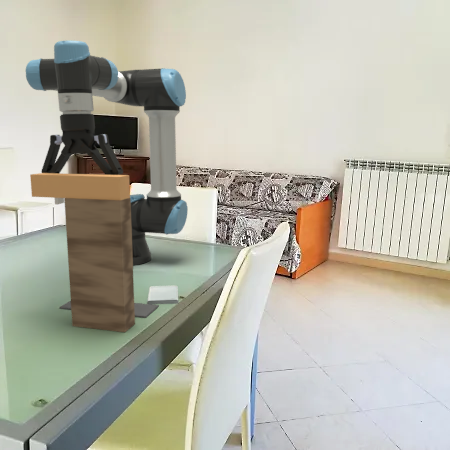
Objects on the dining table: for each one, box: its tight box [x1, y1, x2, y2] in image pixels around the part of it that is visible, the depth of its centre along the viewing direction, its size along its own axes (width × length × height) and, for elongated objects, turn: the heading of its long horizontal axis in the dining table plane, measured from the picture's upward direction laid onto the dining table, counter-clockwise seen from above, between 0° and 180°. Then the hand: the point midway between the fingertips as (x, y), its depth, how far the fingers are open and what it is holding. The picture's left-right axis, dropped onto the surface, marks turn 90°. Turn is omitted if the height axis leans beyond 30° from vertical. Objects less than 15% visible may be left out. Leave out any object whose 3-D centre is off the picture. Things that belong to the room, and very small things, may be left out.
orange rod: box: [30, 172, 131, 200], centre depth 104 cm, size 4×22×5 cm, turn 75°
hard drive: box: [146, 284, 179, 305], centre depth 129 cm, size 2×8×12 cm
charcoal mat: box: [58, 300, 160, 319], centre depth 120 cm, size 8×24×1 cm, turn 75°
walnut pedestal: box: [64, 198, 136, 333], centre depth 106 cm, size 5×14×30 cm, turn 75°
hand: (84, 204), depth 112 cm, fingers open, 13 cm apart
